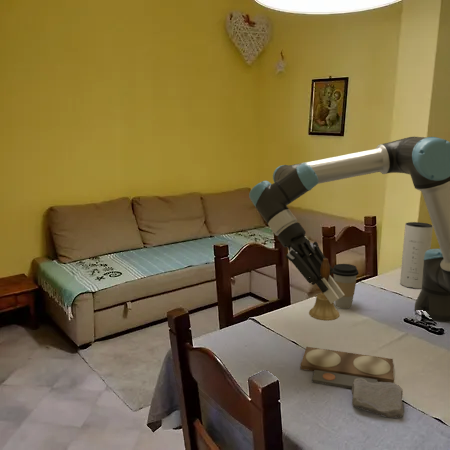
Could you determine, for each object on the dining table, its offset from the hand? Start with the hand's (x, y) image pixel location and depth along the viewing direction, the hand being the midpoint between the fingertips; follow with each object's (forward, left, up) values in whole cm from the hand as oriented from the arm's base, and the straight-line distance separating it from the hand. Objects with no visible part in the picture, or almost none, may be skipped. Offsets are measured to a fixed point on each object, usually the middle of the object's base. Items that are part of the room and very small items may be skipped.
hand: (337, 299), depth 119 cm
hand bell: (+4, -2, -6) cm, 7 cm away
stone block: (-11, +14, -21) cm, 27 cm away
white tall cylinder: (-25, -76, -20) cm, 82 cm away
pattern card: (-3, +7, -20) cm, 21 cm away
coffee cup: (+1, -45, -20) cm, 49 cm away
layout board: (-3, -2, -20) cm, 20 cm away
